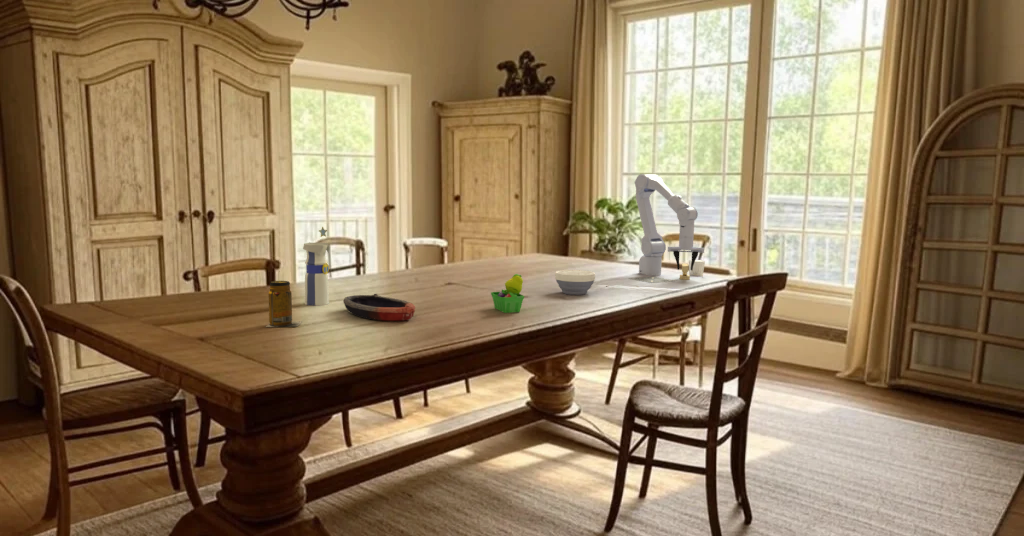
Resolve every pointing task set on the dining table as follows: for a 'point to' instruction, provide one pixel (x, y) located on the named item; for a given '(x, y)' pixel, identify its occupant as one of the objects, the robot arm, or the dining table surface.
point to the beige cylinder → (697, 268)
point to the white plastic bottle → (316, 273)
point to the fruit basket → (509, 296)
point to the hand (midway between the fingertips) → (684, 269)
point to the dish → (379, 307)
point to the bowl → (574, 281)
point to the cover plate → (652, 279)
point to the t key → (685, 272)
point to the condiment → (280, 305)
